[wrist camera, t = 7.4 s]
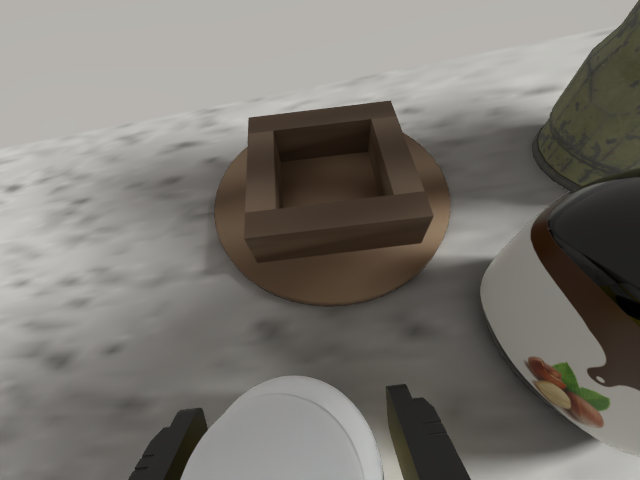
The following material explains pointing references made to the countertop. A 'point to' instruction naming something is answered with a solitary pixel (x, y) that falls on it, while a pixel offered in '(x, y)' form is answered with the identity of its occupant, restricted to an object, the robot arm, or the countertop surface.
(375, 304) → the countertop surface
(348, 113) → the holder
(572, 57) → the countertop surface
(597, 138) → the thermos
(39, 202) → the countertop surface
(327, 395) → the supplement bottle
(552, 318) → the spread jar
